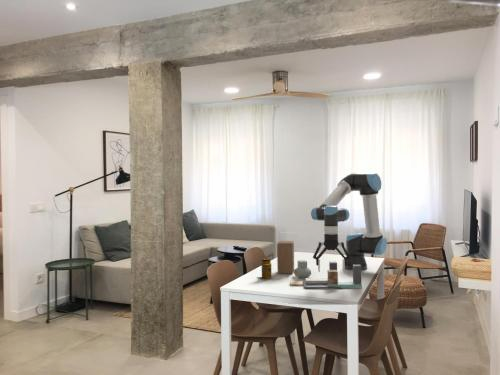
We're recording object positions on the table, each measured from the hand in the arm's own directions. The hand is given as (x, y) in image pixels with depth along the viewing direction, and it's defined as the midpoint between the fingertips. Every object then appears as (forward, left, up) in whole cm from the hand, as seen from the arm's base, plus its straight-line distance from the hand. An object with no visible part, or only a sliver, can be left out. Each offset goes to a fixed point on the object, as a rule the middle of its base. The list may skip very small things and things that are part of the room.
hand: (331, 271), depth 233 cm
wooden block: (+25, -37, -9) cm, 45 cm away
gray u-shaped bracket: (+5, -9, -9) cm, 14 cm away
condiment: (+38, -21, -9) cm, 44 cm away
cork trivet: (+19, -6, -9) cm, 22 cm away
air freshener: (+15, -24, -9) cm, 29 cm away
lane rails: (+5, -5, -9) cm, 11 cm away
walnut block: (-1, 0, -7) cm, 7 cm away
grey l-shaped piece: (-7, 0, -9) cm, 11 cm away
